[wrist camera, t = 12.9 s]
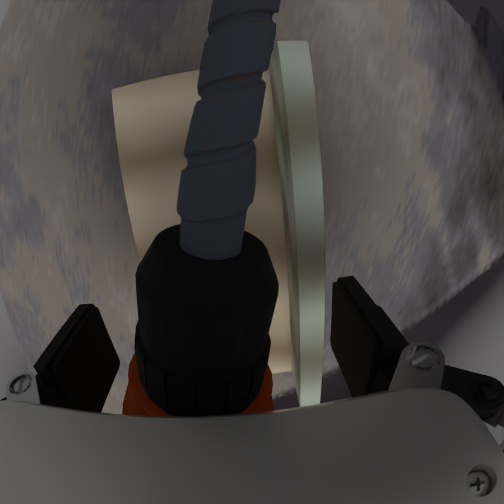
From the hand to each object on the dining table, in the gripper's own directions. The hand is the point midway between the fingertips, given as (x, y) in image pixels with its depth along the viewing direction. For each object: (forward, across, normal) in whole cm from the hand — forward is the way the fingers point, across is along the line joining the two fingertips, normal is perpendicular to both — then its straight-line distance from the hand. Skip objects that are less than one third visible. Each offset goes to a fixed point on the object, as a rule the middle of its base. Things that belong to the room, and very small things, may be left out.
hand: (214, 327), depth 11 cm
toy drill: (+8, 0, 0) cm, 8 cm away
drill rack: (+10, 0, 0) cm, 10 cm away
